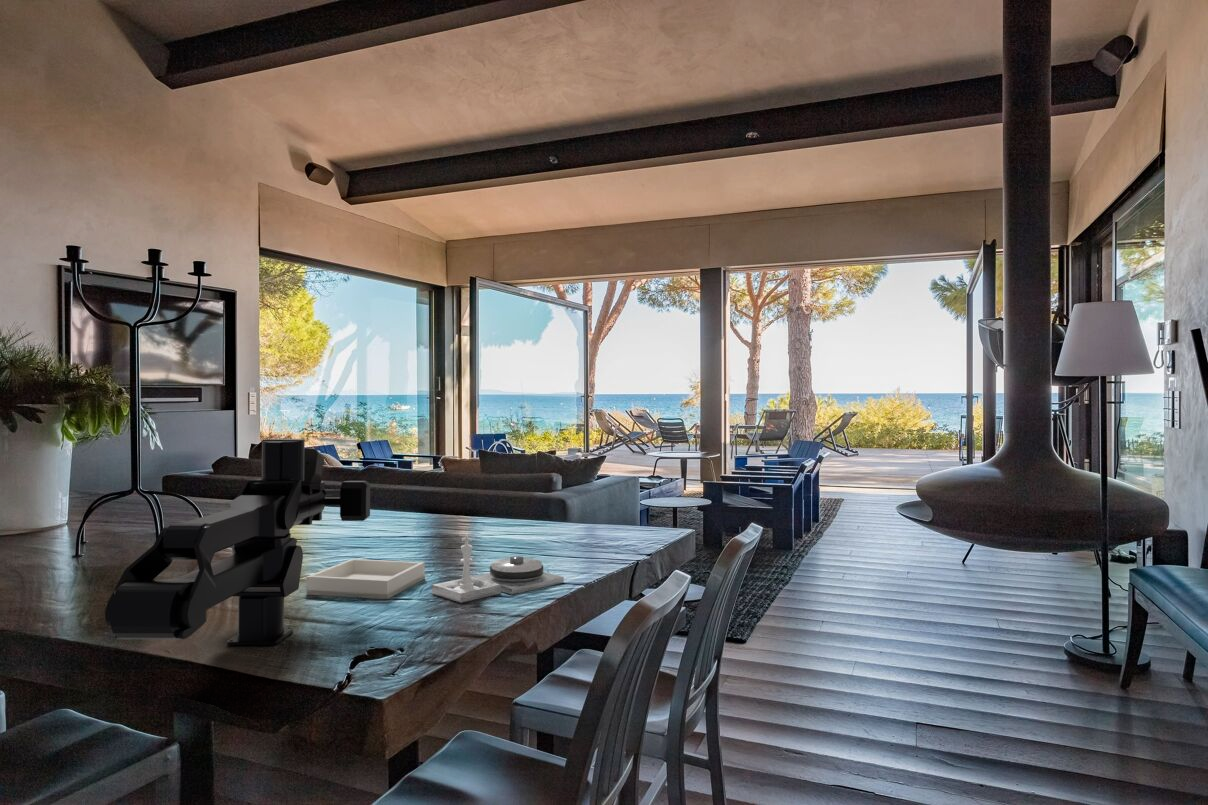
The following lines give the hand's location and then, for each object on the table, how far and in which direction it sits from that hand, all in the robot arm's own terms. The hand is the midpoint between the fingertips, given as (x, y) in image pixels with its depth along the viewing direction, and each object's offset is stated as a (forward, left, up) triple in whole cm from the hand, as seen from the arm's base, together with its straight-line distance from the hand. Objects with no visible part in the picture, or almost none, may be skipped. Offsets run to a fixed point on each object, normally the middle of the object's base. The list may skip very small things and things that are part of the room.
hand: (328, 494), depth 126 cm
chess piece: (-1, -24, -17) cm, 29 cm away
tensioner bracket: (+3, -28, -17) cm, 33 cm away
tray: (+4, -6, -17) cm, 18 cm away
